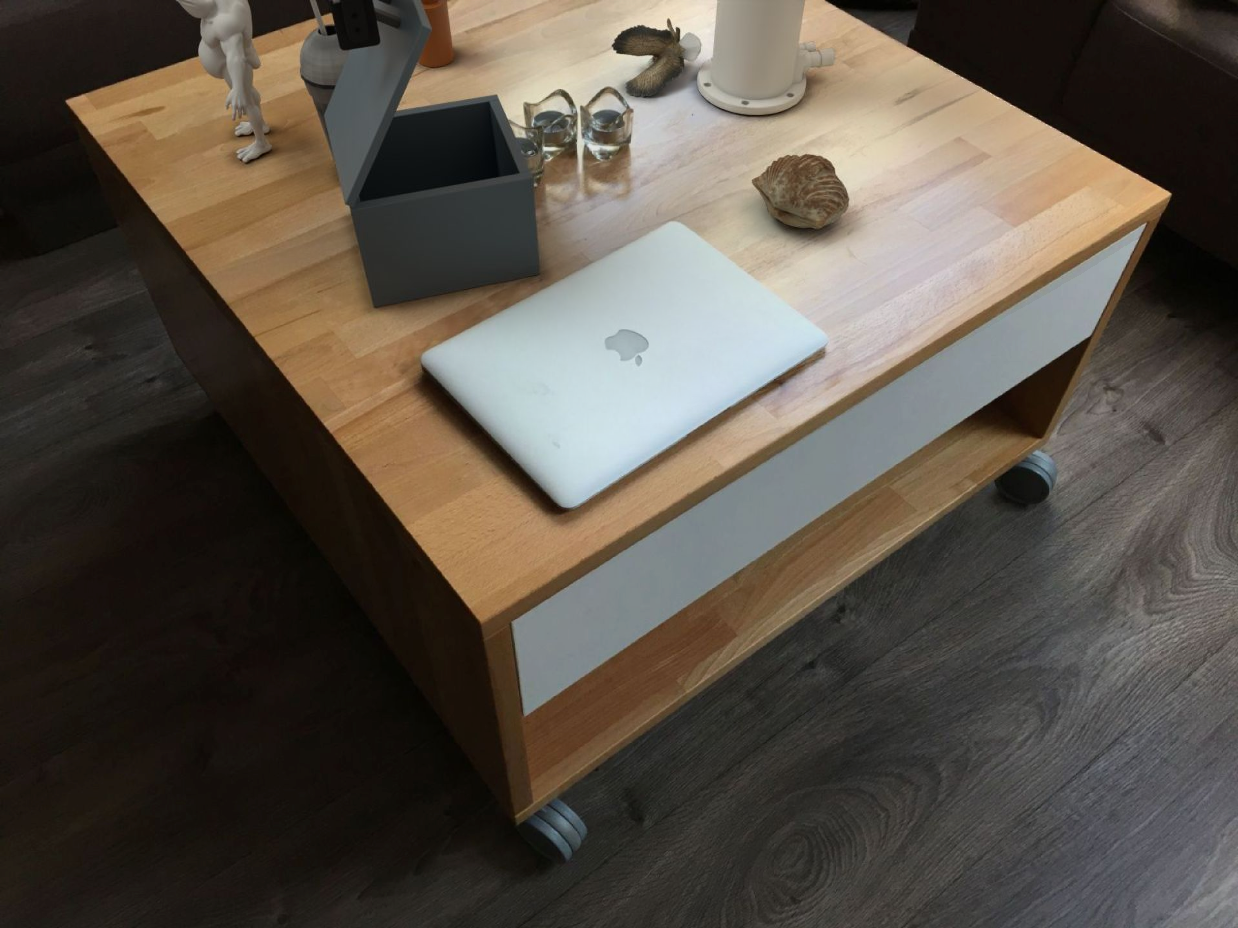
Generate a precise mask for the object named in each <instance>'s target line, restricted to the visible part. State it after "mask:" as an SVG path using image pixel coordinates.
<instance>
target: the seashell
mask: <svg viewBox="0 0 1238 928" xmlns="http://www.w3.org/2000/svg"><path fill="white" fill-rule="evenodd" d="M751 184H752V185H753V187H754V188H755V189H756V190H757V192H758V193H759V194H760V196H761V197H762V199H763V201H764V203H765V206H766V208H767V211H768V213H769V214H770V216H771V217H772V218H773V219H777V220H779V221H780V222H781V223H783V224H785V225H788V226H791V227H795V228H801V229H807V228H813V229H815V230H821V229H822V228H823V227H825V226H827V225H831V224H832V223H834V222H835V221H837V220H839V219H841V217H842V216H843V215H844V214H845V213H846V212H847V210H848V208H849V206H850V204H849V202H850V197H849V192H848V189H847V188H846V186H845V184H844V182H843V181H842V180H841V179H840V177H839V176H838V175H837V174H836V168H835V167H834V164H833V163H832V161H830V160H829V159H828V158H825V157H824V156H822V155H816V154H810V153H805V154H802V155H800V156H799V155H798V154H792V155H791V154H786V155H784V156H781V157H778V158H777V160H773V161H772V163H771V164H770V165H768V166H767V167H766V169H765V171H764V172H762V173H761V174H760V175H759V176H756V177H754V178H753V179H752V180H751Z"/></svg>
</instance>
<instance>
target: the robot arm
mask: <svg viewBox="0 0 1238 928" xmlns="http://www.w3.org/2000/svg"><path fill="white" fill-rule="evenodd" d="M326 2H327V8H328V11H329V13H330V14H331V17H332V20H333V24H334V25H335V29H336V34H337V38H338V43H339V46H340V48H341V49H342V50H352V49H358V48H364V47H371V46H377V45H379V44H380V35H379V30H378V25H377V19H376V14H375V9H374V4H373V0H326ZM805 5H806V0H716V9H715V10H716V11H715V12H716V13H715V21H714V23H715V24H714V33H713V34H714V36H713V46H712V47H713V48H712V57H710V58H708V59H707V60H706V61H704V62H703V63H702V65H701V66H700V68H699V69H698V72H697V78H696V79H697V80H696V84H697V89H698V91H699V93H700V94H701V96H703V98H704V99H705V100H706V101H708V102H709V103H711V104H712V105H713V106H715V107H718V108H720V109H721V110H725V111H728V112H731V113H735V114H740V115H749V116H763V115H771V114H776V113H781V112H783V111H785V110H789V109H790V108H792V107H794V106H795V105H797V104H798V103H799V102H800V101H801V100H802V99H803V97H804V96H805V92H806V87H807V77H806V75H805V74H807V73H809V72H810V71H811V69H816V68H817V69H819V68H825V67H830V66H834V65H835V63H836V51H835V50H834V48H832V47H828V48H822V49H817V46H816V43H815V41H814V40H813V41H807V42H802V43H800V38H801V31H802V24H803V17H804V12H805Z"/></svg>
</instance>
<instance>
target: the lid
mask: <svg viewBox="0 0 1238 928" xmlns="http://www.w3.org/2000/svg"><path fill="white" fill-rule="evenodd" d="M373 4H374V9H375V14H376V19H377V25H378V30H379V35H380V44H379V45H377V46H371V47H364V48H358V49H352V50H350V51H349V54H348V56H347V59H346V61H345V64H344V66H343V69H342V72H341V74H340V77H339V79H338V82H337V84H336V87H335V89H334V92H333V94H332V97H331V99H330V102H329V104H328V107H327V109H326V112H325V114H324V117H325V121H326V126H327V130H328V134H329V138H330V143H331V147H332V151H333V155H334V159H333V161H334V160H335V162H334V163H335V167H336V172H337V176H338V181H339V184H340V189H341V193H342V197H343V202H344V205H345V206H348V207H349V206H352V207H354V205H355V203H356V201H357V198H358V196H359V194H360V192H361V189H362V187H363V185H364V183H365V180H366V178H367V176H368V173H369V171H370V169H371V167H372V164H373V162H374V160H375V158H376V155H377V153H378V151H379V149H380V146H381V144H382V142H383V140H384V137H385V135H386V133H387V130H388V128H389V126H390V124H391V121H392V119H393V117H394V115H395V112H396V111H398V108H399V105H400V104H401V101H402V98H403V97H404V94H405V92H406V91H407V87H408V85H409V83H410V82H411V81H410V80H411V79H412V76H413V74H414V73H415V69H416V67H417V65H418V64H419V62H418V60H419V58H420V56H421V54H422V51H423V49H424V47H425V44H426V42H427V40H428V38H429V35H430V33H431V31H432V28H431V26H430V23H429V20H428V18H427V15H426V13H425V10H424V8H423V5H422V3H421V0H373Z"/></svg>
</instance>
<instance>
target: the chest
mask: <svg viewBox="0 0 1238 928" xmlns="http://www.w3.org/2000/svg"><path fill="white" fill-rule="evenodd" d="M510 123H511V122H510V121H509V119H508V117H507V114H506V112H505V110H504V108H503V105H502V103H501V100H500V98H499V96H498V94H489V95H484V96H477V97H472V98H466V99H465V98H464V99H459V100H453V101H448V102H441V103H436V104H435V103H434V104H429V105H423V106H416V107H410V108H405V109H399V110H398V109H397V110H396V112H395V115H394V117H393V119H392V121H391V124H390V126H389V128H388V130H387V133H386V135H385V137H384V140H383V142H382V144H381V146H380V149H379V151H378V153H377V155H376V158H375V160H374V162H373V164H372V167H371V169H370V171H369V173H368V176H367V178H366V180H365V183H364V185H363V187H362V189H361V192H360V194H359V196H358V198H357V201H356V203H355V205H354V207H352V206H348V207H349V211H350V214H351V219H352V224H353V227H354V231H355V235H356V240H357V244H358V248H359V252H360V256H361V261H362V264H363V269H364V273H365V277H366V281H367V286H368V290H369V293H370V298H371V302H372V306H373V307H372V308H378V307H383V306H389V305H394V304H398V303H404V302H408V301H413V300H419V299H424V298H429V297H434V296H438V295H443V294H447V293H453V292H459V291H463V290H469V289H474V288H479V287H484V286H489V285H494V284H499V283H503V282H508V281H514V280H518V279H519V280H520V279H524V278H528V277H533V276H539V275H541V268H540V255H539V253H540V252H539V239H538V226H537V210H536V196H535V183H534V181H535V180H534V176H533V174H532V171H531V170H530V167H529V164H528V162H527V160H526V158H525V155H524V153H523V152H522V148H521V146H520V144H519V142H518V139H517V137H516V135H515V133H514V130H513V128H512V126H511V124H510Z"/></svg>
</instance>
